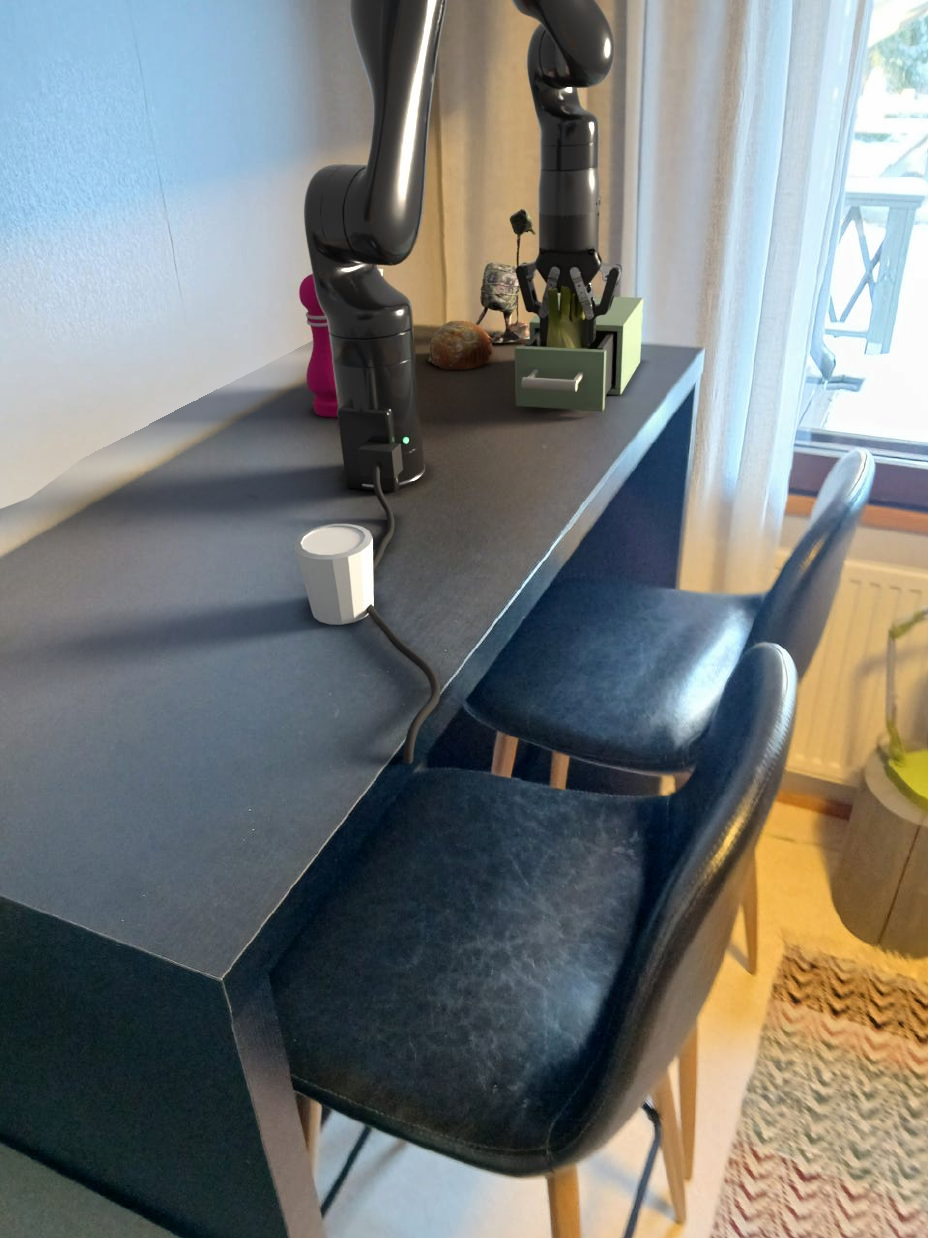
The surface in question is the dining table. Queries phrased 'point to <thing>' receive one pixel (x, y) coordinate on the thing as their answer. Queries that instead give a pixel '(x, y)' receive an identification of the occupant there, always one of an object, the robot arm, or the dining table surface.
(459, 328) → the bread roll
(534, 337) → the green pull-out drawer
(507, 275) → the grey irregular tall piece
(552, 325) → the fennel bulb
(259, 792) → the dining table surface
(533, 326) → the green drawer cabinet
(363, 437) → the robot arm
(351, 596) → the shot glass
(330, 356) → the pepper mill
